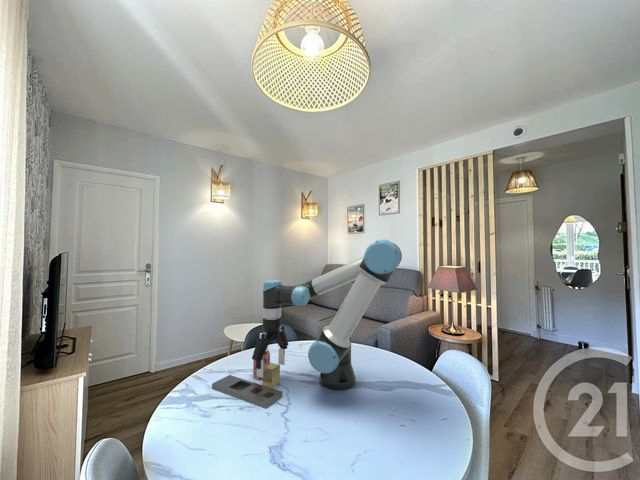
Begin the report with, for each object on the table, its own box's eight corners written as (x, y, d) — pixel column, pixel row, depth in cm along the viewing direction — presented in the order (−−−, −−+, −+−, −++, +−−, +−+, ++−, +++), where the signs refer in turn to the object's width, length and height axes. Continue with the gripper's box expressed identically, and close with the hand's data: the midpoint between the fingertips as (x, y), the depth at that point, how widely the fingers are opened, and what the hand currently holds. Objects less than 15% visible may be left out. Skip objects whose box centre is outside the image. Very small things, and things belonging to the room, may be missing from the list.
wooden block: (279, 384, 110) (279, 364, 111) (271, 390, 106) (272, 369, 106) (270, 381, 113) (270, 362, 113) (262, 386, 108) (262, 366, 109)
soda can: (271, 374, 120) (272, 347, 120) (266, 381, 113) (267, 352, 113) (256, 373, 120) (256, 346, 121) (250, 380, 113) (251, 352, 114)
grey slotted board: (282, 398, 100) (282, 391, 100) (266, 410, 92) (266, 402, 92) (229, 380, 113) (229, 374, 113) (211, 390, 106) (211, 383, 106)
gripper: (283, 311, 124) (282, 358, 122) (243, 323, 102) (242, 380, 101) (296, 313, 120) (296, 361, 119) (258, 325, 98) (257, 385, 97)
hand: (271, 370), depth 110 cm, fingers open, 13 cm apart
